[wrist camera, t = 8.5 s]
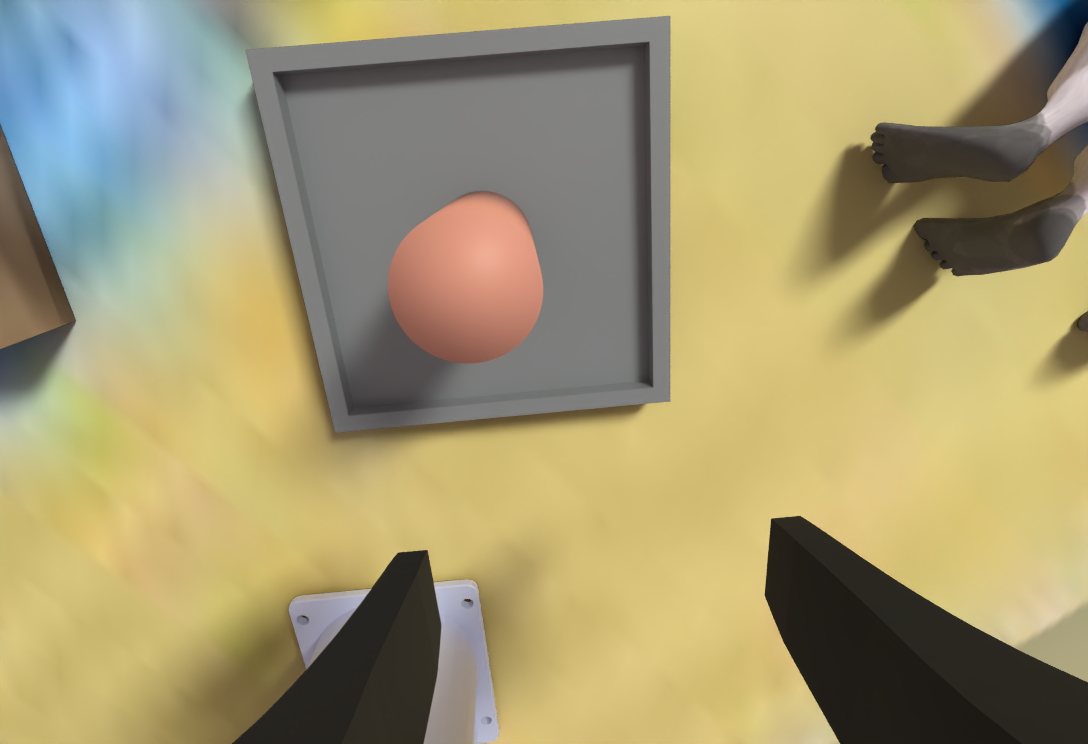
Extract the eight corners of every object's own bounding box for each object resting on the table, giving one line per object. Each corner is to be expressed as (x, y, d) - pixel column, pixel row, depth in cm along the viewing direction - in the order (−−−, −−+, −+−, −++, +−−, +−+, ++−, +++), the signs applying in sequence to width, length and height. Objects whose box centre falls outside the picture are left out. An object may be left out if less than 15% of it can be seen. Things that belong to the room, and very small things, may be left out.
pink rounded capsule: (536, 285, 19) (549, 356, 12) (442, 293, 19) (402, 369, 12) (527, 186, 18) (536, 204, 11) (428, 195, 18) (374, 218, 11)
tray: (660, 385, 22) (670, 401, 20) (346, 414, 22) (335, 432, 20) (657, 27, 18) (670, 15, 16) (266, 58, 17) (245, 49, 16)
